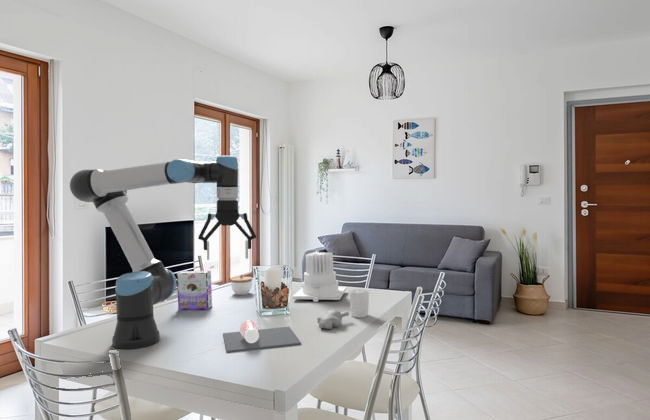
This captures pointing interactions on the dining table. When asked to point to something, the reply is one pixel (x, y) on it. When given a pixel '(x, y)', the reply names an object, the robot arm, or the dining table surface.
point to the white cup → (359, 302)
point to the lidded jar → (241, 285)
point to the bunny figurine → (331, 319)
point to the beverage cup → (249, 331)
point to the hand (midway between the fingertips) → (227, 258)
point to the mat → (261, 339)
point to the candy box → (194, 290)
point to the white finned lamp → (320, 279)
